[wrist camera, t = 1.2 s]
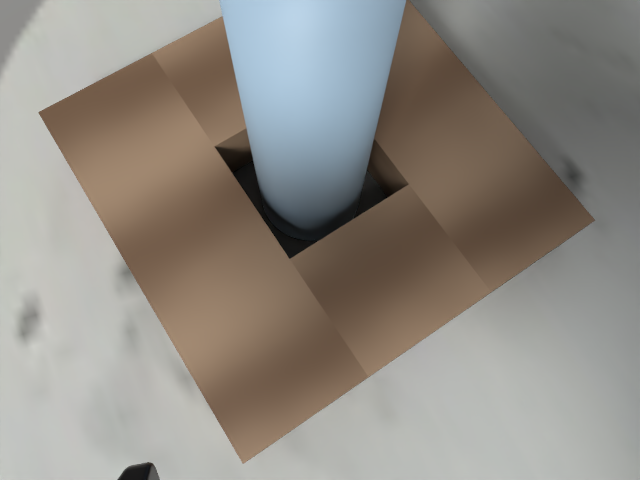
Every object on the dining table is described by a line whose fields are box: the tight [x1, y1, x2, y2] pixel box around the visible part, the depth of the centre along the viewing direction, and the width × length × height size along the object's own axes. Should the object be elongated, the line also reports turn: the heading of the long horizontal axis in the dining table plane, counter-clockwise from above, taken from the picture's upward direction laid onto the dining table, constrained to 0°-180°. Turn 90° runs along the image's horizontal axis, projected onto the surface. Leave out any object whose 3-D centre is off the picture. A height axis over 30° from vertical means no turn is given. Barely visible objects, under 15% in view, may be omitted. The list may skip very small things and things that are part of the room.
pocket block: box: [38, 0, 595, 463], centre depth 24 cm, size 16×16×3 cm
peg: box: [219, 0, 406, 241], centre depth 19 cm, size 4×4×14 cm
